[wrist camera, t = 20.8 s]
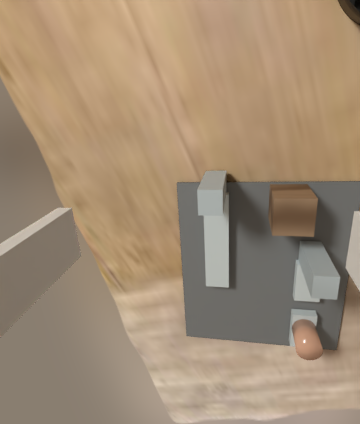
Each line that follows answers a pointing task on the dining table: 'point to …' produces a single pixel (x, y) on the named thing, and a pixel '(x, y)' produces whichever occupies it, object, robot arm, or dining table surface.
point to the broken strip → (312, 281)
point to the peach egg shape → (306, 339)
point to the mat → (262, 264)
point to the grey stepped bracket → (215, 227)
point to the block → (292, 210)
